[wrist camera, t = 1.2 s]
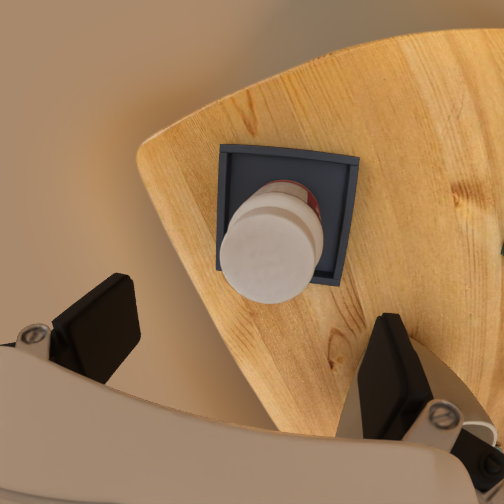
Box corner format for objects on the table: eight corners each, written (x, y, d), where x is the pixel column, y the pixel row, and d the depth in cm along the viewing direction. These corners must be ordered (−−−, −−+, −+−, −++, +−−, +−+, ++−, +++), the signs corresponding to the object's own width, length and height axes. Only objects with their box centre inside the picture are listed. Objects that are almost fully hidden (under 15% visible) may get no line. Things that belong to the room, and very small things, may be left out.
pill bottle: (314, 250, 26) (316, 320, 16) (247, 241, 27) (209, 304, 17) (323, 182, 24) (335, 212, 14) (252, 175, 25) (211, 199, 15)
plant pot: (468, 325, 26) (525, 426, 12) (399, 408, 32) (415, 507, 18) (368, 282, 27) (408, 411, 12) (304, 382, 33) (291, 499, 18)
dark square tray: (225, 143, 25) (219, 144, 23) (356, 156, 23) (359, 157, 21) (221, 262, 29) (215, 270, 27) (337, 277, 27) (339, 286, 26)
